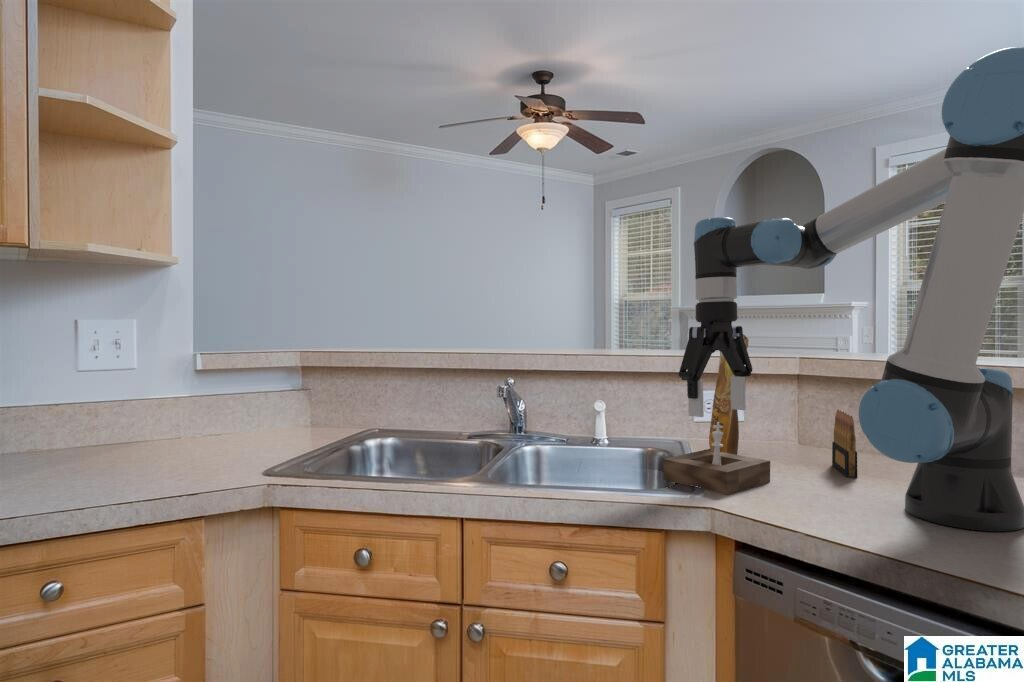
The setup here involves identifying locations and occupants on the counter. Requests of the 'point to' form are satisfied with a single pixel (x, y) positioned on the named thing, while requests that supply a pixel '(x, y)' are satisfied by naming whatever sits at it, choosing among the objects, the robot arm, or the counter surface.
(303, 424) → the counter surface
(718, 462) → the chess piece
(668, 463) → the socket block
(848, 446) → the ammunition clip
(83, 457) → the counter surface
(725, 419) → the pancake mix bag
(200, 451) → the counter surface
